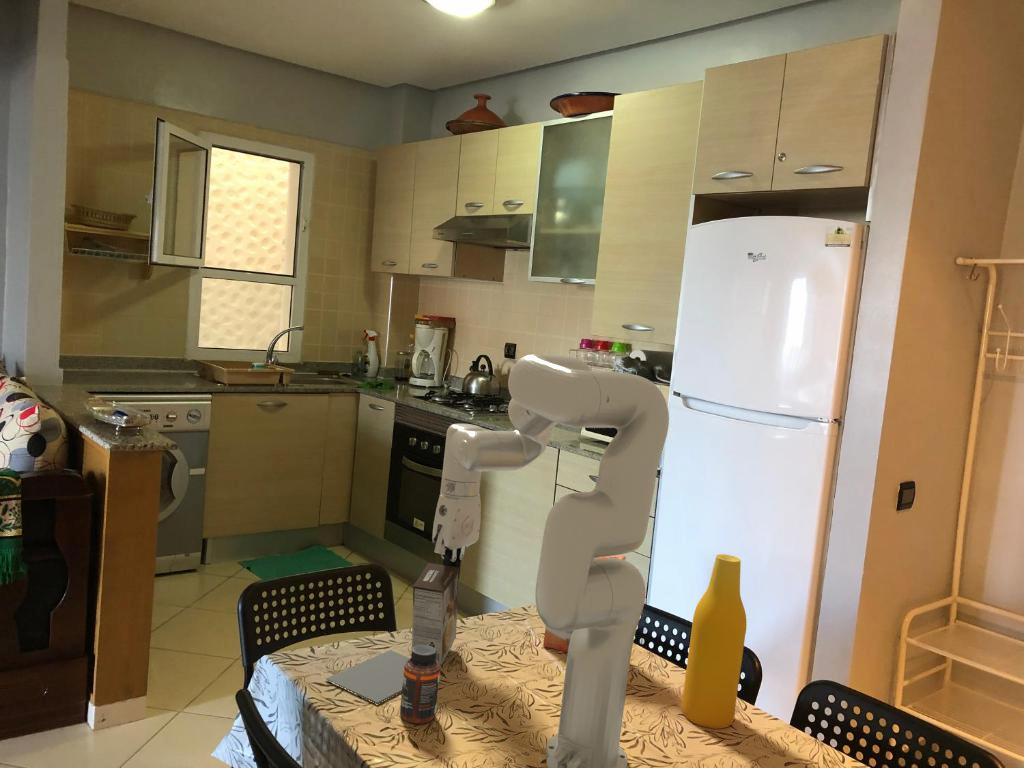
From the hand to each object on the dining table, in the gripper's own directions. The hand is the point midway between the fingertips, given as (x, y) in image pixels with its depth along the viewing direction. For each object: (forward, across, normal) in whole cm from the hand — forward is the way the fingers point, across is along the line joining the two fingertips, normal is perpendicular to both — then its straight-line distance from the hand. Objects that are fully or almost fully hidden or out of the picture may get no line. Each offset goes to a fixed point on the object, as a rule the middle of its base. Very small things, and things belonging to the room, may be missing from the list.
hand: (450, 578), depth 155 cm
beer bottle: (+14, +12, -50) cm, 54 cm away
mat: (+14, -18, 0) cm, 23 cm away
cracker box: (+14, +20, -20) cm, 32 cm away
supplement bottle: (+14, -24, -13) cm, 31 cm away
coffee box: (+13, -3, 0) cm, 14 cm away
